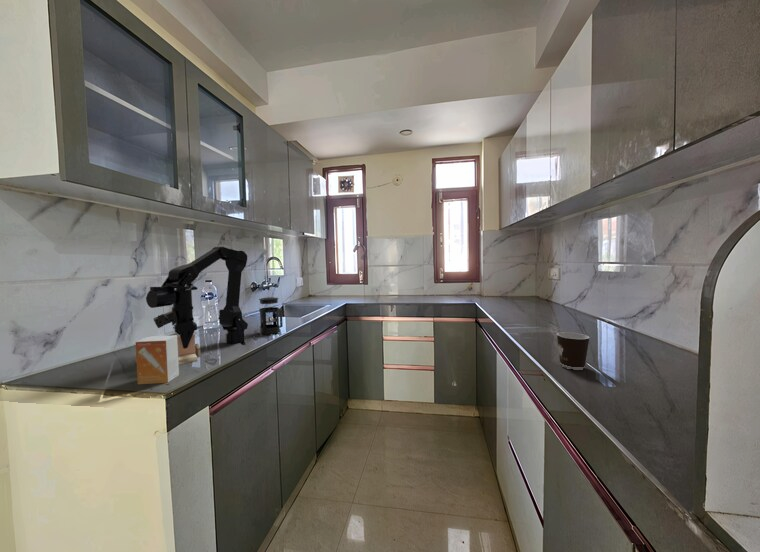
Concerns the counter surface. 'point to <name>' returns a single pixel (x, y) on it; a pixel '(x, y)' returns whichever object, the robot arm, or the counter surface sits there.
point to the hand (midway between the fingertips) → (184, 347)
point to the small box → (157, 359)
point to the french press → (271, 327)
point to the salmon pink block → (189, 349)
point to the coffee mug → (572, 348)
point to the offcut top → (187, 359)
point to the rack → (197, 350)
